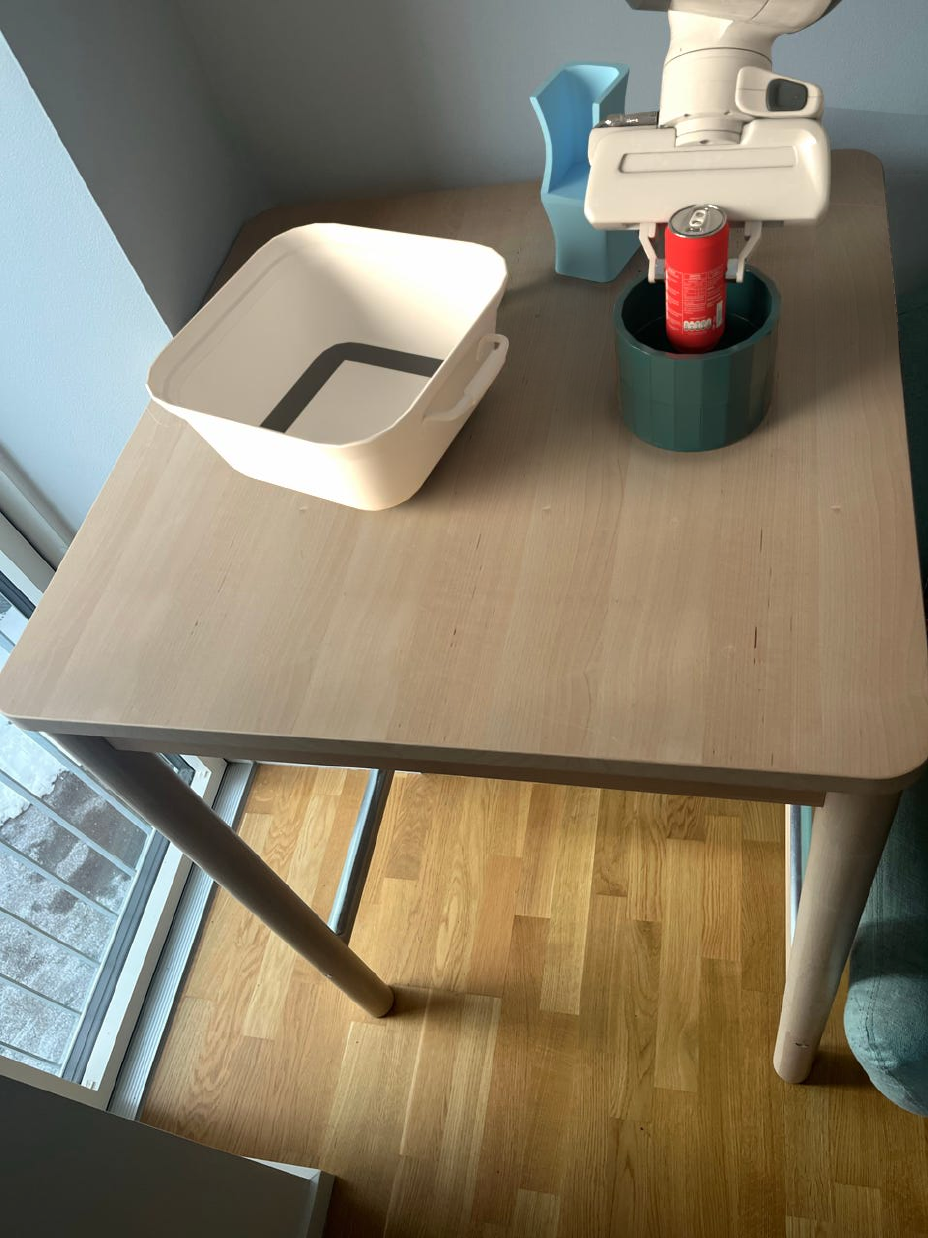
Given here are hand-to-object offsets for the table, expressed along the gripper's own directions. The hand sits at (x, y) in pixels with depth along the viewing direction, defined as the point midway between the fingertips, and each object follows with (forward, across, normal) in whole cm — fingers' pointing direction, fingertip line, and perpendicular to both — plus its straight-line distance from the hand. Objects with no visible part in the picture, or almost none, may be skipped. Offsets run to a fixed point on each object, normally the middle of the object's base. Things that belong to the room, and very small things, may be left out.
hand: (695, 282), depth 79 cm
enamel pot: (+9, 0, +10) cm, 14 cm away
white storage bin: (+15, -33, +5) cm, 36 cm away
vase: (-7, -14, +27) cm, 31 cm away
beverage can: (+4, 0, +5) cm, 7 cm away
